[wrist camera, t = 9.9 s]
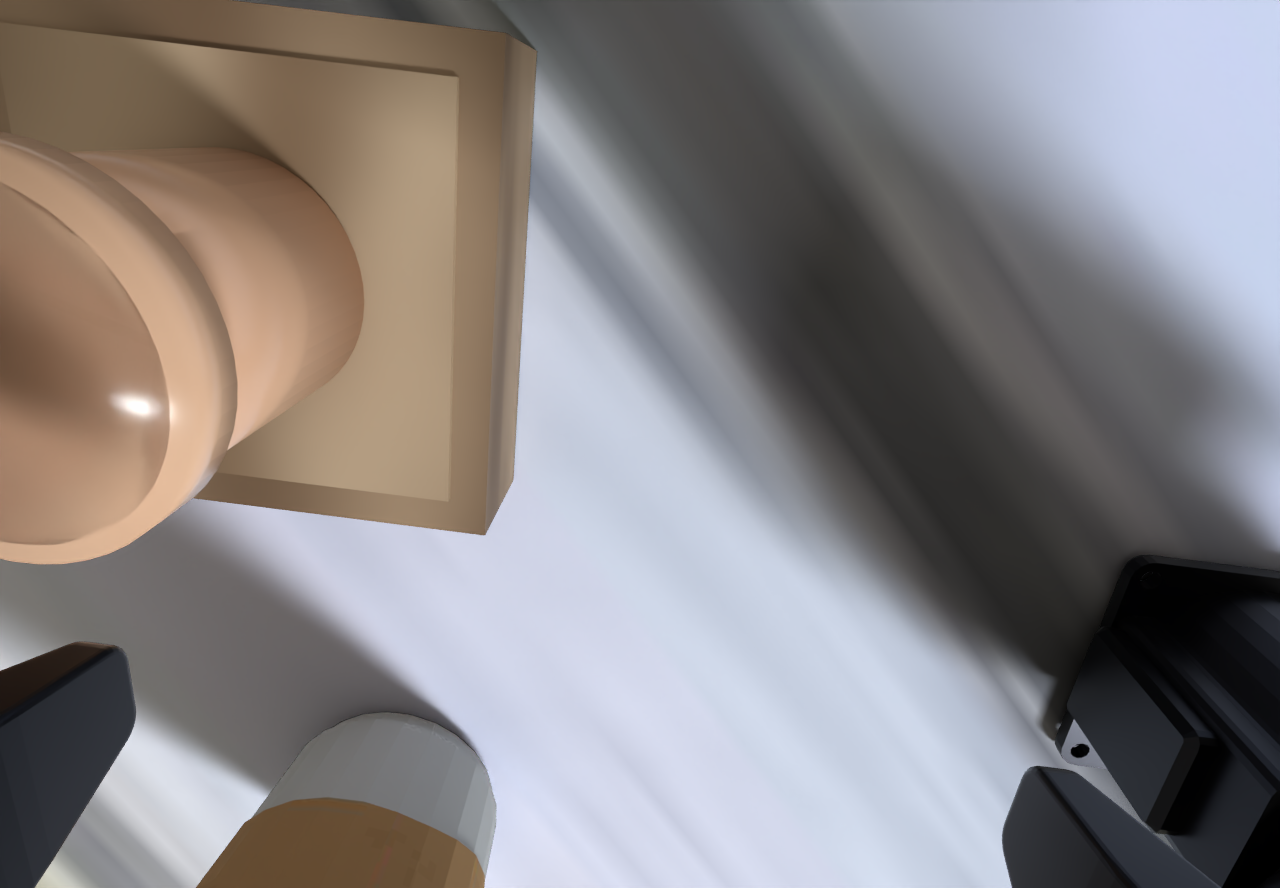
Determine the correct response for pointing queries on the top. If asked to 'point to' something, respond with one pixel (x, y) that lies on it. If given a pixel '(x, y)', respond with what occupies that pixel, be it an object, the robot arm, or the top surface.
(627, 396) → the top surface
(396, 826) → the coffee cup
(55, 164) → the terracotta pot
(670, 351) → the top surface
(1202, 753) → the robot arm
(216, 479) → the square wooden tray
